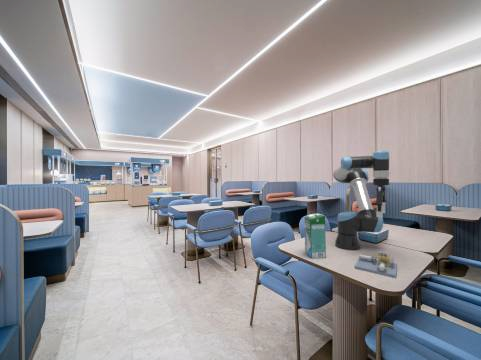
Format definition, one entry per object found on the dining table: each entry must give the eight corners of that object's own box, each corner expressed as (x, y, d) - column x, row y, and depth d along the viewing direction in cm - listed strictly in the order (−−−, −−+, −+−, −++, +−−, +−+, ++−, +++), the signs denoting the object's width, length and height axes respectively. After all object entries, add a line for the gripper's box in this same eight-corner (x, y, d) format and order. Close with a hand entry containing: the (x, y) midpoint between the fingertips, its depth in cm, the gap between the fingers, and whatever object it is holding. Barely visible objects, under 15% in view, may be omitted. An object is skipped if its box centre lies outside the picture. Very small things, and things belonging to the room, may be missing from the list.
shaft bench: (354, 268, 106) (354, 259, 106) (360, 258, 118) (360, 251, 118) (395, 278, 95) (395, 268, 95) (397, 266, 108) (397, 257, 108)
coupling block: (389, 267, 103) (389, 256, 103) (377, 265, 107) (377, 254, 107) (390, 264, 107) (390, 253, 107) (378, 262, 111) (378, 251, 110)
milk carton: (305, 253, 129) (304, 213, 129) (318, 252, 130) (318, 213, 130) (311, 258, 120) (310, 216, 120) (325, 257, 121) (325, 215, 121)
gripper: (386, 179, 105) (386, 220, 106) (390, 177, 124) (390, 212, 125) (369, 179, 110) (369, 218, 111) (376, 177, 129) (376, 210, 130)
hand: (381, 215), depth 118 cm, fingers open, 13 cm apart
